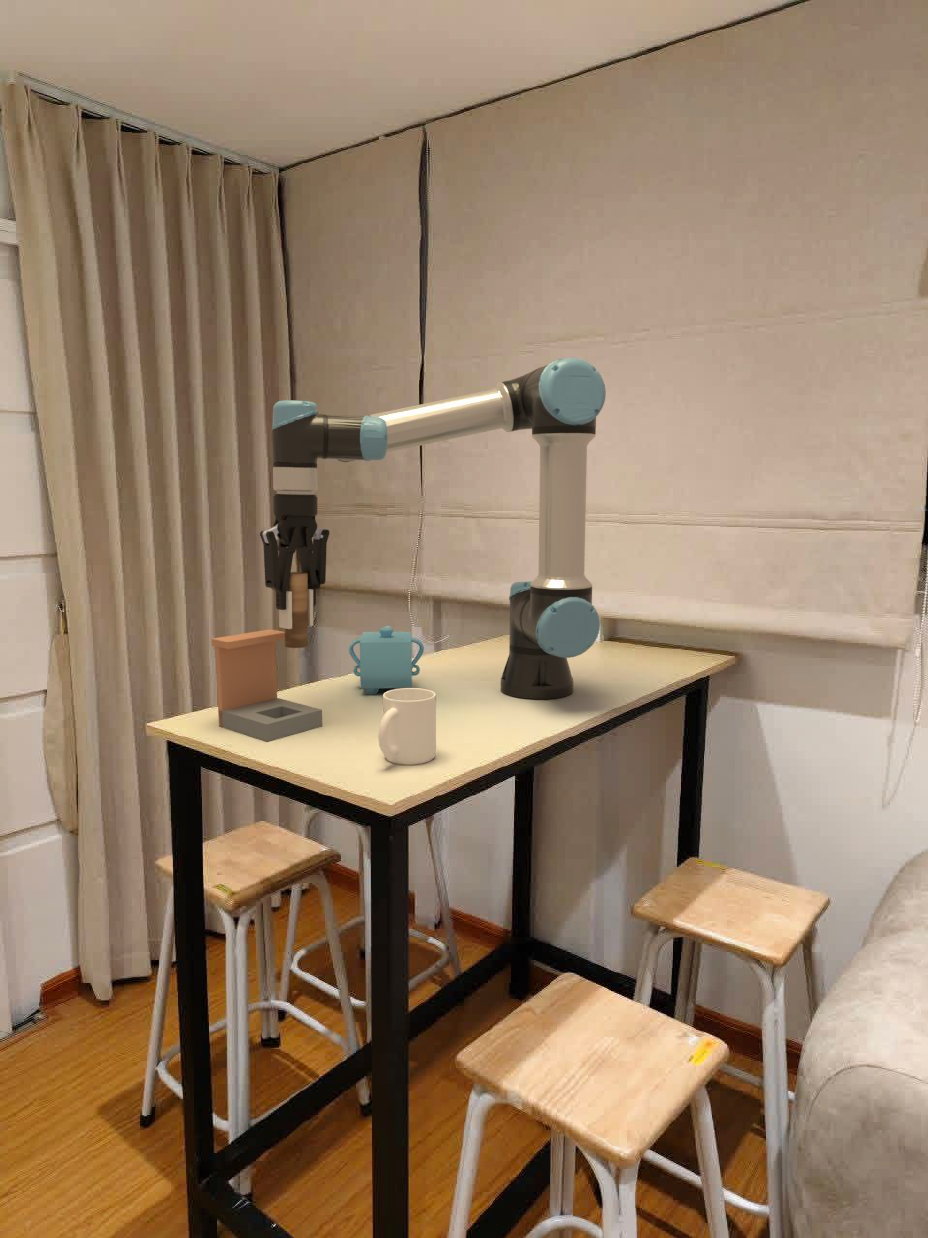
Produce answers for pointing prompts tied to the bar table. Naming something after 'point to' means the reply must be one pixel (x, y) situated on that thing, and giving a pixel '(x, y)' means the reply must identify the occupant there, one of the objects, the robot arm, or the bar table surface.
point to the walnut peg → (298, 611)
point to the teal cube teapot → (385, 659)
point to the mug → (408, 726)
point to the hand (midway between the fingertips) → (296, 626)
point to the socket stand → (256, 689)
